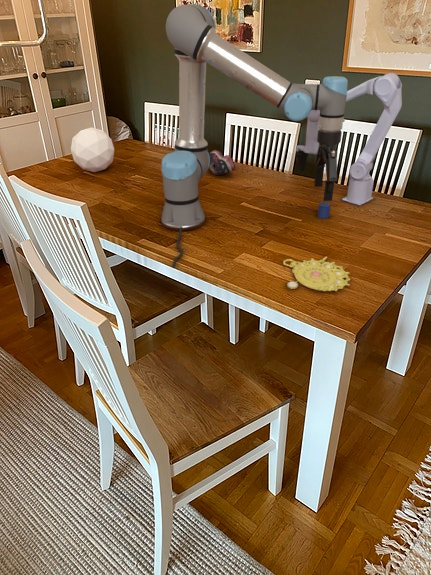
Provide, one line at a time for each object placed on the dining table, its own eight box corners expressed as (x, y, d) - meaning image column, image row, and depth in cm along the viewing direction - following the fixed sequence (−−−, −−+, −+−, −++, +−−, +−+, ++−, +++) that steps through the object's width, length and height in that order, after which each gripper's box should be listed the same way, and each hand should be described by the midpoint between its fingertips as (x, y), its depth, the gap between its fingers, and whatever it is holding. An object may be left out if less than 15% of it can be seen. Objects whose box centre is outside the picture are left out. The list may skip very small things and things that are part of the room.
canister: (315, 214, 158) (317, 203, 156) (325, 213, 159) (326, 201, 157) (321, 219, 155) (322, 207, 153) (331, 217, 156) (332, 205, 154)
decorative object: (332, 298, 110) (265, 270, 120) (331, 306, 111) (265, 278, 122) (367, 265, 123) (304, 242, 133) (365, 272, 125) (303, 249, 135)
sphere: (101, 187, 208) (88, 161, 190) (70, 166, 213) (54, 139, 194) (127, 159, 213) (117, 131, 194) (96, 140, 218) (83, 111, 199)
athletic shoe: (215, 150, 209) (192, 156, 205) (235, 143, 189) (210, 149, 185) (221, 174, 212) (199, 180, 208) (241, 169, 192) (217, 176, 188)
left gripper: (353, 139, 132) (343, 206, 143) (331, 121, 153) (324, 180, 164) (328, 140, 131) (320, 207, 143) (309, 121, 152) (304, 181, 164)
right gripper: (291, 135, 168) (289, 171, 175) (323, 142, 159) (319, 179, 166) (303, 132, 172) (300, 166, 179) (335, 138, 163) (330, 174, 170)
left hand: (322, 193), depth 153 cm, fingers open, 13 cm apart
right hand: (310, 172), depth 173 cm, fingers open, 7 cm apart
